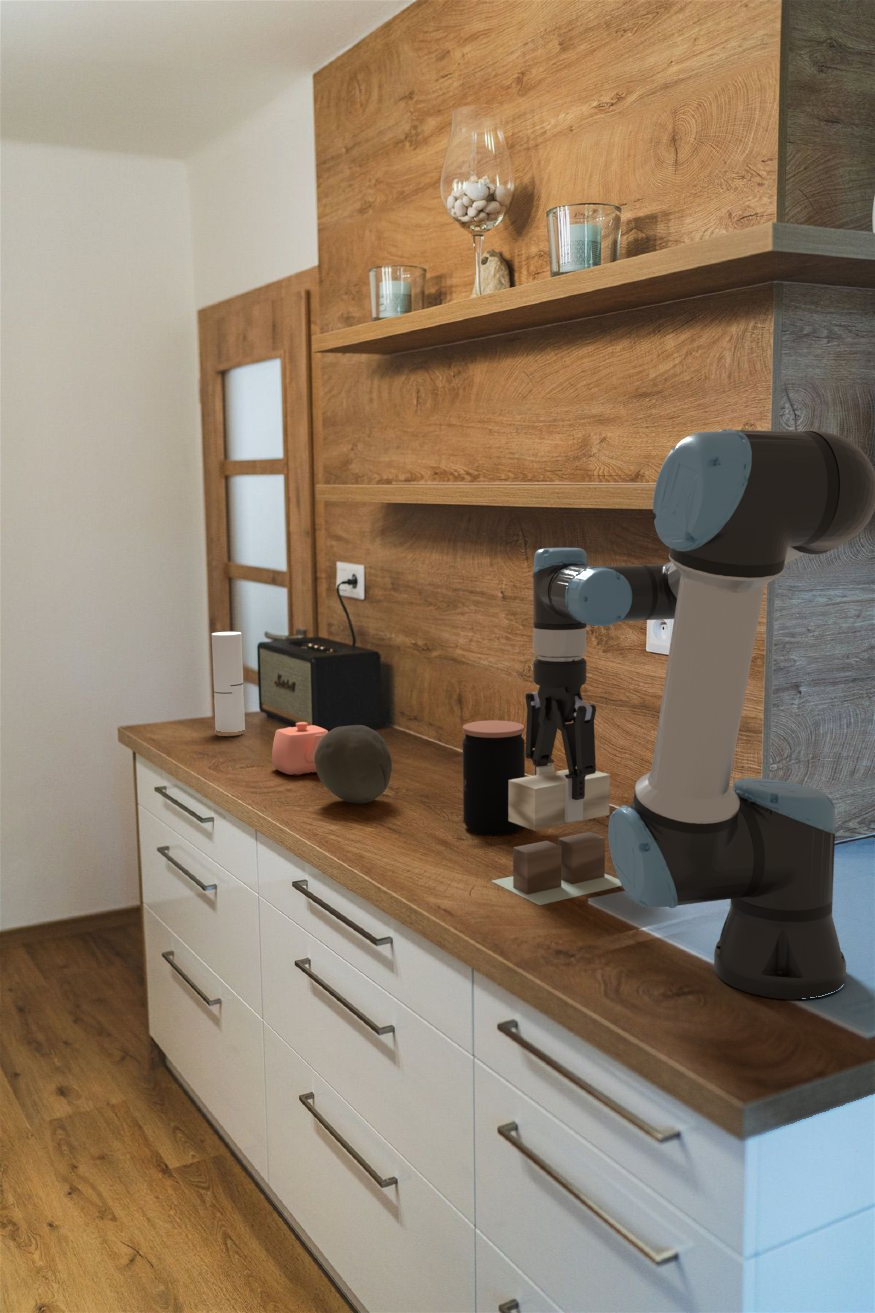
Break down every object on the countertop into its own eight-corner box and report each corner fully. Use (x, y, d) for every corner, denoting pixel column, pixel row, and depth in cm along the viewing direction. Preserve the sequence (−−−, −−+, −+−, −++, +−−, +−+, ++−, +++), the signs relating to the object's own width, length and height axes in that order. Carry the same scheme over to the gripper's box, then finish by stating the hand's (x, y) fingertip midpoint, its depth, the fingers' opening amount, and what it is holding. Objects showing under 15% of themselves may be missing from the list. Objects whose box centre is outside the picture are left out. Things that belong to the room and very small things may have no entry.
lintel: (609, 814, 168) (610, 774, 167) (534, 830, 160) (535, 788, 159) (581, 805, 173) (582, 766, 172) (508, 820, 165) (508, 780, 164)
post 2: (604, 877, 170) (604, 837, 169) (572, 884, 167) (572, 844, 166) (589, 870, 173) (590, 832, 172) (557, 877, 170) (557, 838, 169)
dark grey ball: (379, 791, 226) (377, 716, 224) (401, 808, 213) (400, 729, 211) (309, 798, 221) (306, 721, 219) (327, 816, 208) (325, 735, 206)
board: (628, 891, 167) (628, 883, 167) (539, 913, 159) (539, 905, 158) (577, 869, 177) (577, 862, 177) (491, 888, 169) (491, 880, 169)
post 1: (561, 887, 166) (561, 846, 165) (527, 894, 162) (527, 853, 162) (546, 880, 169) (546, 840, 168) (513, 887, 165) (513, 847, 165)
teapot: (312, 760, 254) (310, 713, 252) (347, 776, 238) (346, 727, 237) (263, 766, 248) (261, 719, 247) (296, 784, 233) (295, 733, 231)
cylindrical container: (249, 734, 282) (246, 633, 278) (222, 738, 278) (218, 635, 275) (238, 730, 288) (234, 631, 284) (211, 733, 284) (207, 633, 281)
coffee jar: (488, 815, 207) (487, 717, 205) (536, 825, 201) (536, 724, 198) (451, 829, 199) (449, 727, 197) (500, 840, 193) (500, 735, 190)
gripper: (624, 662, 157) (622, 826, 160) (541, 647, 173) (541, 796, 176) (580, 667, 153) (579, 835, 156) (500, 651, 169) (500, 803, 173)
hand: (559, 814), depth 166 cm, fingers closed on lintel, 6 cm apart
